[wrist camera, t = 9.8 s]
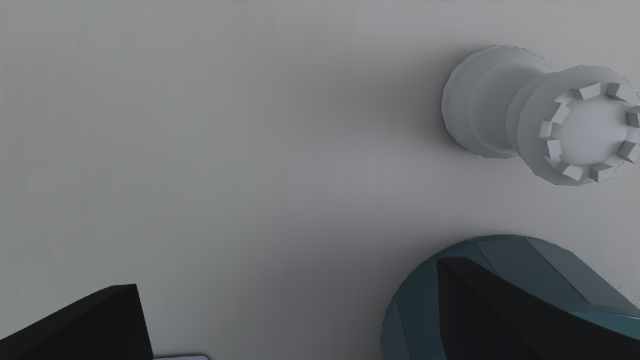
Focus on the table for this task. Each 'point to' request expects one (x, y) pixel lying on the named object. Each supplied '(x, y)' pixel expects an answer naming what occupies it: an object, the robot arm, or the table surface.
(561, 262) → the pot
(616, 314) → the pot lid
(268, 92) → the table surface
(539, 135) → the rook chess piece
